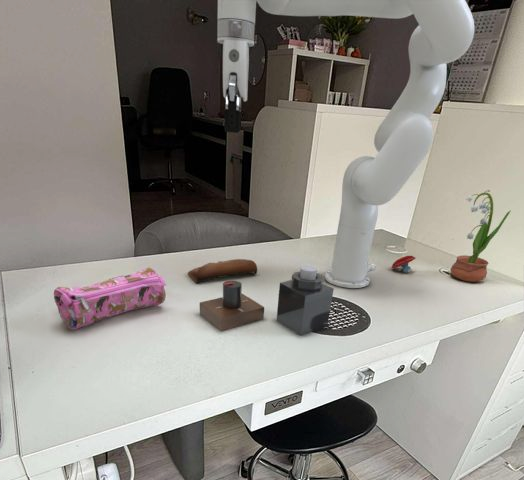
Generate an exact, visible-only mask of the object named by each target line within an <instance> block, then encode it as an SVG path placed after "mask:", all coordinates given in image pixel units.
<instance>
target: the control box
mask: <svg viewBox="0 0 524 480" xmlns="http://www.w3.org/2000/svg"><path fill="white" fill-rule="evenodd" d="M199 315H200V317H202V318H203V319H204V320H206V321H207V322H208V323H210V324H211V325H212V326H213V327H215V328H216V329H218V330H219V331H220V332H224V331H228V330H231V329H234V328H238V327H242V326H246V325H248V324H252V323H255V322H259V321H262V320H264V318H265V306H264V305H262V304H260V303H258V302H256V301H255V300H253V299H252V298H251V297H249V296H247V295H245V294H244V293H242V296H241V306H240V307H238V308H227V307H225V306H223V296H222V297H221V296H220V297H218V298H212V299H208V300H204V301H200V302H199Z"/></svg>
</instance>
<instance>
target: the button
mask: <svg viewBox="0 0 524 480" xmlns="http://www.w3.org/2000/svg"><path fill="white" fill-rule="evenodd" d="M416 259H417V257H415V256H413V255H405V256H402V257H400V258H398V259H396V260H395V261H394V262H393V263H392V266H391V269H396V268H400V267H401V271H402V273H409V271H411V266H410V265H409V263H411V262H413V261H414V260H416Z"/></svg>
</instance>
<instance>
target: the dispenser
mask: <svg viewBox="0 0 524 480" xmlns="http://www.w3.org/2000/svg"><path fill="white" fill-rule="evenodd" d="M299 277H300V270H299V271H295V272H293V273H292V274H291V279H290V280H285V281H281V282H279V288H278V298H277V308H276V309H277V310H276V320H275V321H276V322H277V323H279V324H281V325H282V326H284V327H286V328H287V329H289V330H290V331H292V332H293V333H295V334H296V335H298V336H299V337H301V336H304V335H307V334H311V333H313V332H316V331H319V330H322V329H325V328H328V326H329V325H328V324H329V319H330V314H331V308H332V302H333V297H334V290H335V289H334V287H331V286H329V285H327V284H326V283H324V279H325V277H323V275H322V274H320V273H318V272H317V275H316V279H315V280H305V279H301V278H299Z"/></svg>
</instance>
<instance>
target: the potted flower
mask: <svg viewBox="0 0 524 480" xmlns="http://www.w3.org/2000/svg"><path fill="white" fill-rule="evenodd" d="M490 192H491V191H490V189H489V190H485V191H484V192H481V193H479V194H478V193H474V194H472V195H468V196H467V198H466V201H467V202H469V203H471V201H472V200H473V196H476V197H475V199H474V201H473V205H472V206H471V208H470V210H471V213H476V212H478V211H479V210H481V212H480V213H481V214H484V215H485V216H484V217H483V218H481V219H480V221H479V225H477V226H474V228H472V230H471V231H470V232H469V233H467V235H466V239H467V240H473V239H474V240H473V242H472V255H458V256H456V260H455V262H454V263H453V264H452V266H450V267H451V268H450V273H451V275H452V276H453V277H454V278H455V279H457V280H460V281H462V282H463V281H464V282H468V283H469V282H470V283H478V282H482V281H483V280H484V279H486V278H487V274H488V270H487V268H488V265H489V264H490V263H489V261H488V260H486V259H484V258H481V257H479V256H480V254H482V252H483V251H485V249H487V247H488V245H489V243H490V242H491V240H492V239H493V238H494V237H495V236H496V234H497V233H498V232H499V230H500V229H501V228H502V226H503V224H504V223H505V221H506V220H507V218H508V216H509V215H510V213H511V212H512V210H511V209H510V210H509V211H507V212H506V214H505V215H504V217H503V218H502V220H501V221H500V222H499V223H498V225H497V227H495V229H493V230H492V231H491V232H490V228H491V225H492V220H493V214H494V199H493V196H492V194H491V193H490ZM481 196H483V197H484V196H486V197H485V198H484V199H483V200H482V202H481V203H479V205H475V204H476V202H477V200H478V199H479V198H480V197H481ZM486 199H489V201H486V202H484V201H485V200H486ZM487 219H488V220H487ZM478 227H480V228H479V229H478V231H477V233H476V235H474V233H473V231H475V229H476V228H478ZM489 233H490V234H489ZM474 236H475V237H474Z"/></svg>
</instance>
